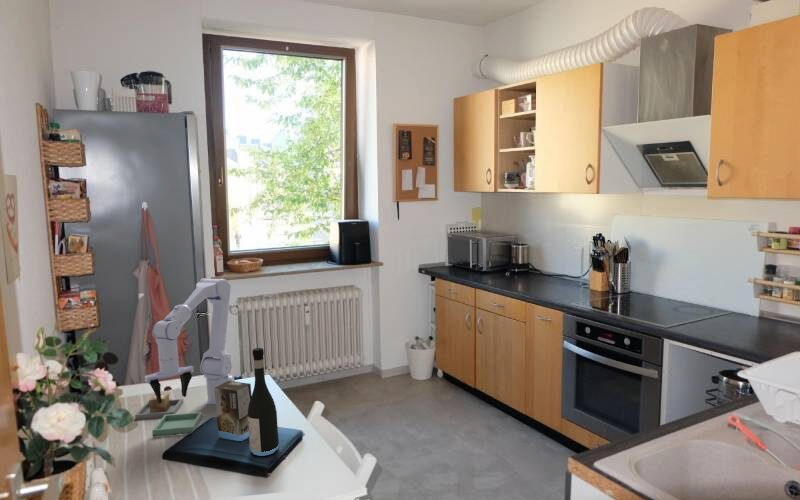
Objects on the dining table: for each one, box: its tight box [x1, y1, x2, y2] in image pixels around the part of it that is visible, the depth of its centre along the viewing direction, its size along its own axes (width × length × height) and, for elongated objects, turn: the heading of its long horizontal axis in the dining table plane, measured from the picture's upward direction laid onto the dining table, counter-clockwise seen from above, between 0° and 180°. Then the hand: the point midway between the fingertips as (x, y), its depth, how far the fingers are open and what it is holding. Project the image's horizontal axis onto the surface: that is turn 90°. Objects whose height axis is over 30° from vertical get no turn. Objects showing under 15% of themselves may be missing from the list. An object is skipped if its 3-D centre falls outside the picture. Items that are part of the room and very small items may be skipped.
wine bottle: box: [248, 347, 280, 452], centre depth 155 cm, size 8×8×30 cm
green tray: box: [151, 411, 203, 438], centre depth 176 cm, size 12×12×2 cm
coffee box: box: [214, 381, 252, 435], centre depth 167 cm, size 9×6×16 cm
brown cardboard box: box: [148, 393, 170, 413], centre depth 189 cm, size 5×5×5 cm
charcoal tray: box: [134, 398, 184, 420], centre depth 189 cm, size 12×12×2 cm
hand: (172, 399), depth 177 cm, fingers open, 7 cm apart
